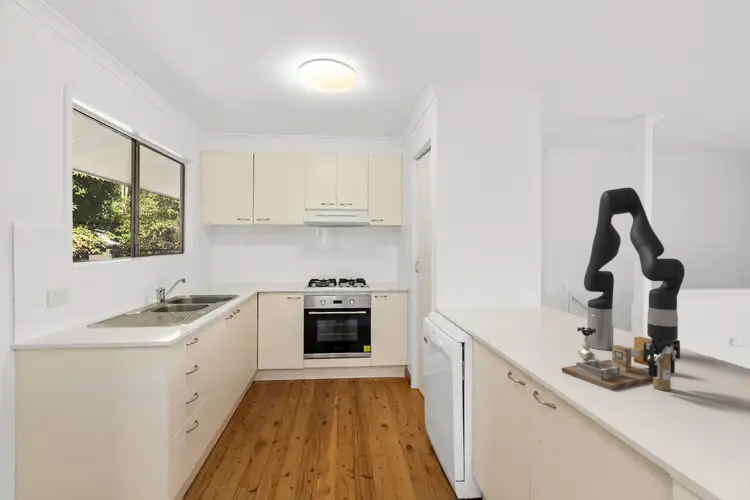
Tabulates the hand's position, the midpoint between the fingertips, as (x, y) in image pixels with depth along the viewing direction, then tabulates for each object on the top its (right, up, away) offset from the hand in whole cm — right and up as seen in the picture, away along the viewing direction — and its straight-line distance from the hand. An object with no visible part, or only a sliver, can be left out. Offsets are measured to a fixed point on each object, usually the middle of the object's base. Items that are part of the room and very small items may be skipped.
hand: (661, 374), depth 118 cm
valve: (-7, -4, +30) cm, 31 cm away
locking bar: (+2, -2, +16) cm, 16 cm away
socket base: (-9, -4, +11) cm, 15 cm away
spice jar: (0, -5, 0) cm, 5 cm away
